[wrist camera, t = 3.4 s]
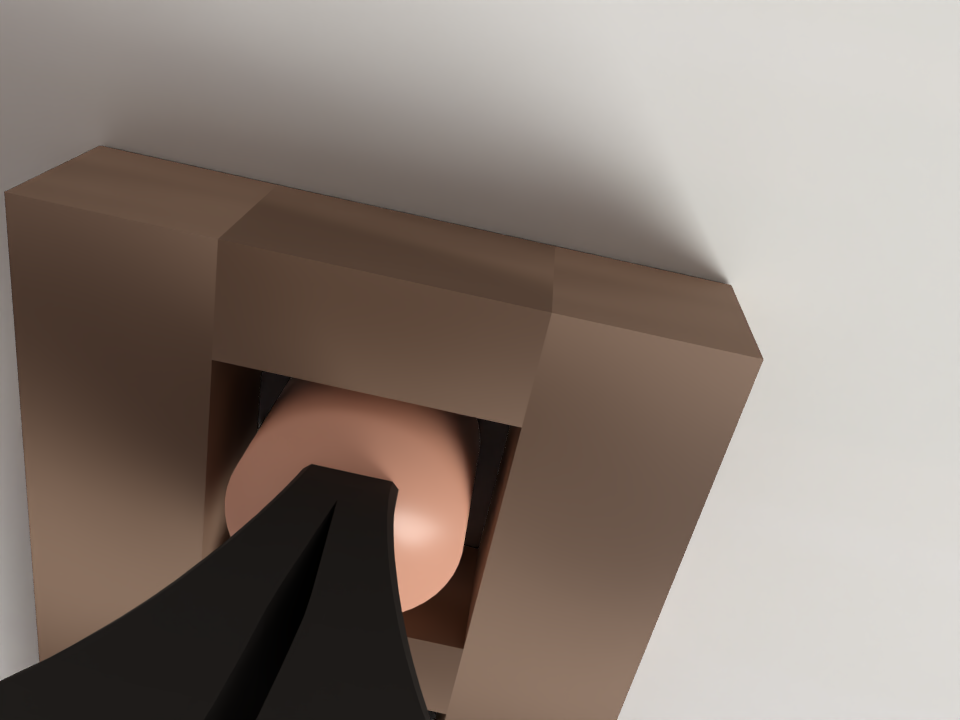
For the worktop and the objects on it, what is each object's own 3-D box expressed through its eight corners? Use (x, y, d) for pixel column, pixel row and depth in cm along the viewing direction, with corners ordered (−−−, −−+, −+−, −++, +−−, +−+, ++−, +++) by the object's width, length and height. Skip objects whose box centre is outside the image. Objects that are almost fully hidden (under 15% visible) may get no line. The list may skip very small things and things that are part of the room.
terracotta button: (459, 536, 16) (441, 639, 13) (268, 495, 16) (218, 590, 13) (499, 369, 14) (485, 455, 12) (285, 322, 14) (231, 399, 12)
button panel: (481, 962, 23) (472, 1075, 20) (113, 883, 23) (63, 989, 20) (731, 285, 13) (764, 359, 11) (99, 145, 13) (3, 191, 11)
